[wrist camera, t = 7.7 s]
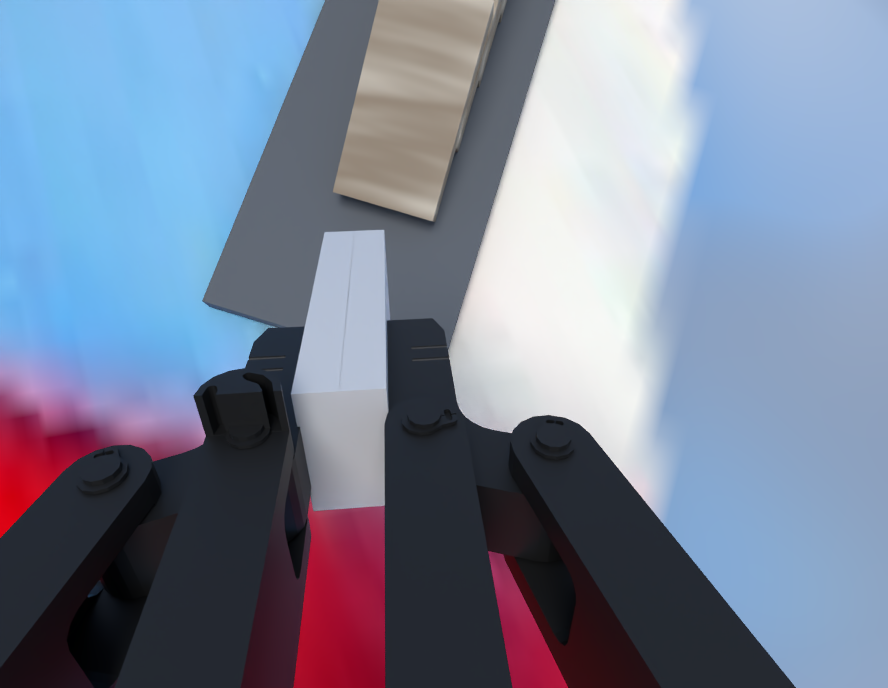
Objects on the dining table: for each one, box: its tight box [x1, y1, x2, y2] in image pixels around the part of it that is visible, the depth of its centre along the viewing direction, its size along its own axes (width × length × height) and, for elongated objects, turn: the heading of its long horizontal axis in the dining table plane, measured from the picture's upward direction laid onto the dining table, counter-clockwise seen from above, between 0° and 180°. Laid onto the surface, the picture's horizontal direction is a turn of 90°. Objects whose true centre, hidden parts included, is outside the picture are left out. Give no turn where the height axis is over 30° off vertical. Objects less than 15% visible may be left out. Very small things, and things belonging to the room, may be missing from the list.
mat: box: [202, 0, 555, 348], centre depth 31 cm, size 30×12×1 cm, turn 163°
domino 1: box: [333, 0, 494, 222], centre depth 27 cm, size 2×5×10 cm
